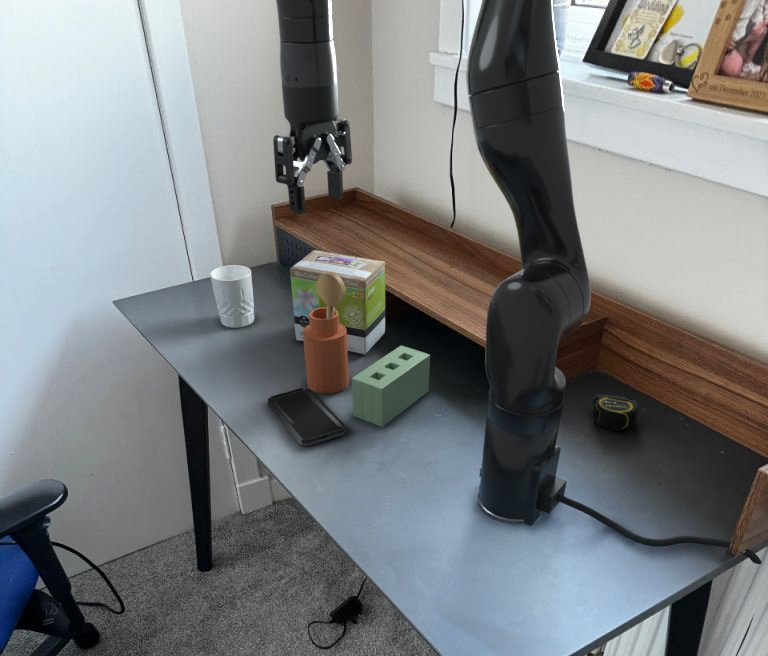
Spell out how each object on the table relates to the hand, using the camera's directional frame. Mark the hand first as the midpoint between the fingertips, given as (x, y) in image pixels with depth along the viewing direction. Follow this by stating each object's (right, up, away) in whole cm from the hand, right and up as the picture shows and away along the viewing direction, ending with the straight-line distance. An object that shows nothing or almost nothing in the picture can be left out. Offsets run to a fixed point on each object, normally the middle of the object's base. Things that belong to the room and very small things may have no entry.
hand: (317, 205), depth 107 cm
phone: (-3, -31, +10) cm, 32 cm away
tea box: (+2, -12, +33) cm, 35 cm away
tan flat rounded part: (0, -23, +19) cm, 30 cm away
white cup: (-20, -7, +39) cm, 44 cm away
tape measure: (+46, -31, +9) cm, 57 cm away
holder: (+11, -27, +14) cm, 33 cm away
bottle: (0, -23, +19) cm, 30 cm away
